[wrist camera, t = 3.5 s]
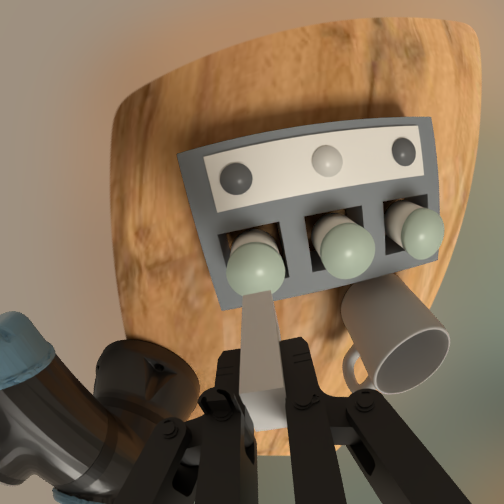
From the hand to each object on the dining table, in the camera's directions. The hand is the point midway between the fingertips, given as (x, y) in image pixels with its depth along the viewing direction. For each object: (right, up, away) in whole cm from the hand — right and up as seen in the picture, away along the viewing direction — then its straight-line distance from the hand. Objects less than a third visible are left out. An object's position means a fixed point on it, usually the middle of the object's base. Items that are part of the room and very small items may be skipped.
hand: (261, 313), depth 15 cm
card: (+5, +10, +5) cm, 13 cm away
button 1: (+13, +6, +8) cm, 17 cm away
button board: (+6, +8, +11) cm, 15 cm away
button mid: (+6, +5, +9) cm, 12 cm away
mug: (+13, -4, +16) cm, 21 cm away
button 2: (0, +3, +9) cm, 10 cm away
